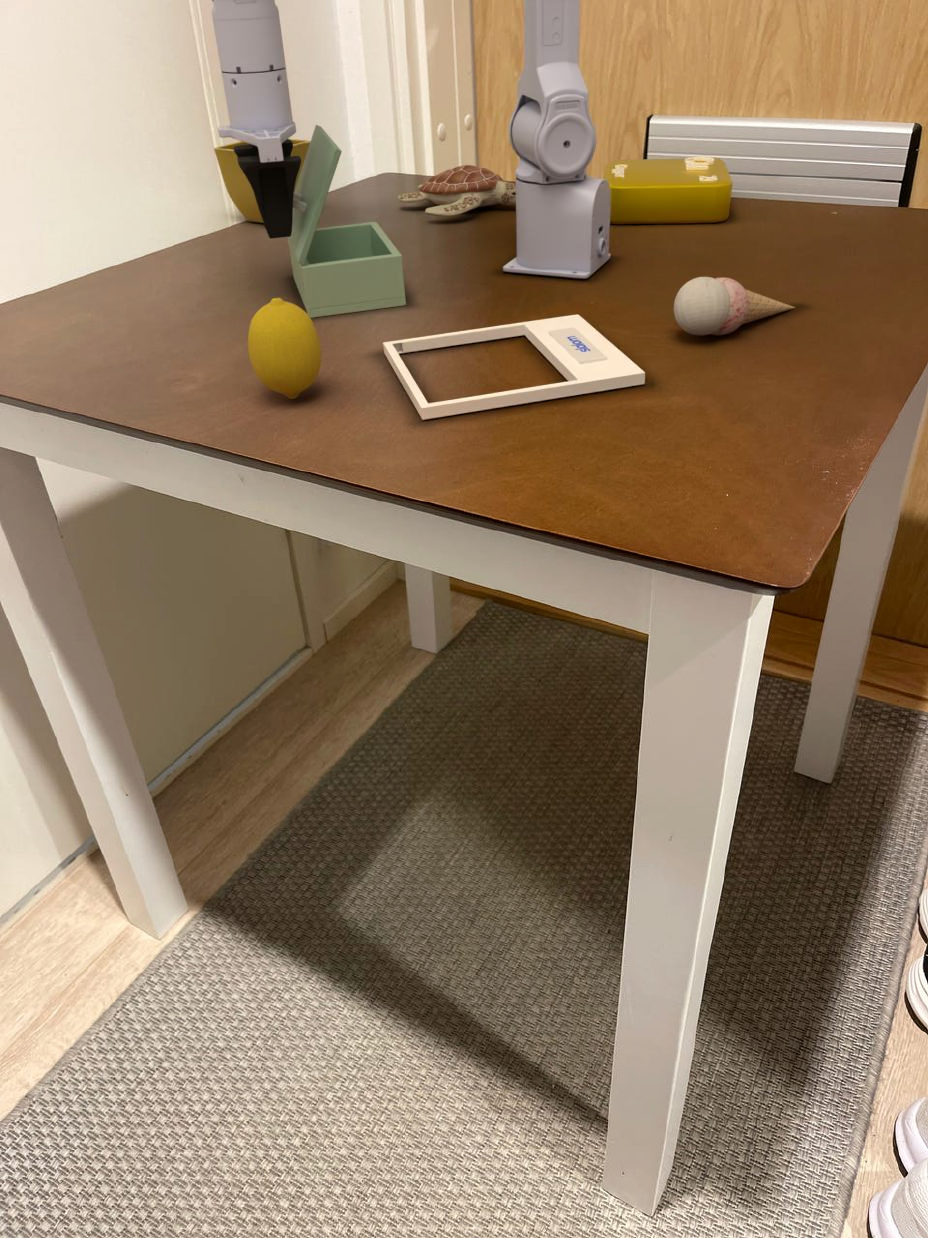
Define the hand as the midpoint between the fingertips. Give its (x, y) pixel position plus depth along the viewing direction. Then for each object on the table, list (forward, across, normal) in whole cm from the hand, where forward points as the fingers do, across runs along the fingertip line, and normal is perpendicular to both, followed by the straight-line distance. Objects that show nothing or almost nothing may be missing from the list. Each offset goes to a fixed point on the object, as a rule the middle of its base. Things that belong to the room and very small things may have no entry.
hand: (277, 229), depth 92 cm
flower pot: (+7, -34, +2) cm, 34 cm away
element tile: (+6, -16, +49) cm, 52 cm away
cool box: (+7, 0, +6) cm, 9 cm away
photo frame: (+6, +26, +16) cm, 31 cm away
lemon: (+7, +26, -2) cm, 27 cm away
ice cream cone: (+6, +25, +38) cm, 46 cm away
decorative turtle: (+7, -29, +26) cm, 40 cm away
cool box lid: (-3, 0, +4) cm, 5 cm away
